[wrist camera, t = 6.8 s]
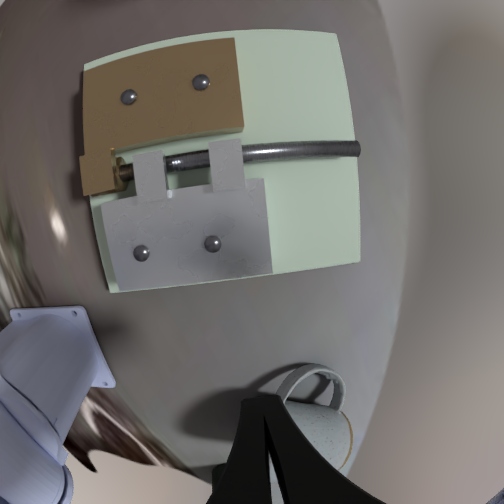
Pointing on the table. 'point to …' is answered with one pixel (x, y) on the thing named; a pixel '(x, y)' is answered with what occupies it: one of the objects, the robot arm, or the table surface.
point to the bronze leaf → (172, 113)
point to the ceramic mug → (319, 417)
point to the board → (278, 130)
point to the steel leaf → (189, 224)
